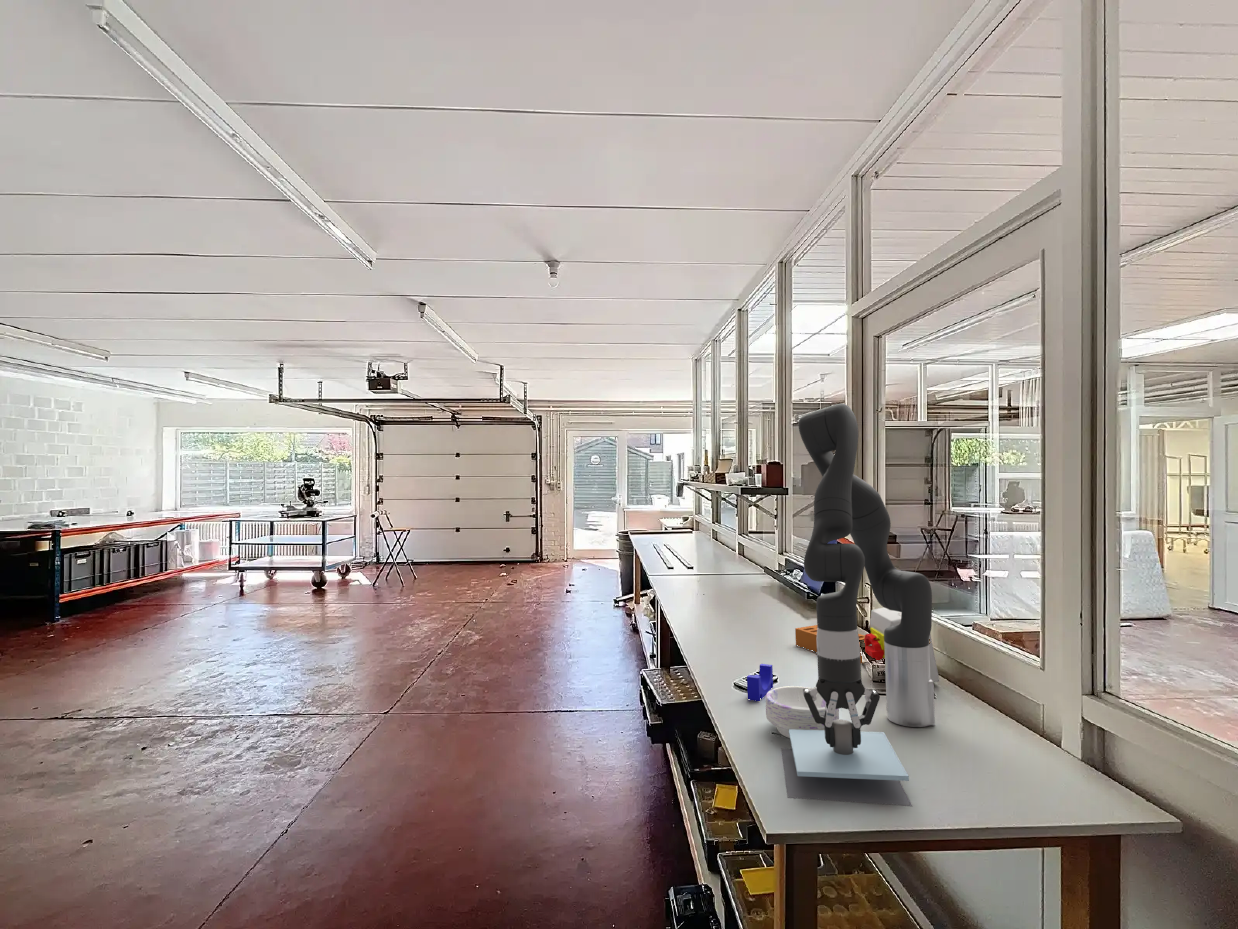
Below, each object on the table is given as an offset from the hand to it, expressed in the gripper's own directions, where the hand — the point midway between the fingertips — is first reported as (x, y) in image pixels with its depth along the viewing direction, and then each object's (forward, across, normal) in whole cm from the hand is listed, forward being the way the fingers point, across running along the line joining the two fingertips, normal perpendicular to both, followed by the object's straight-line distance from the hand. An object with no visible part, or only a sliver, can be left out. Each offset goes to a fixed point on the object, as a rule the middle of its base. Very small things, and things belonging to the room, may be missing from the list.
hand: (842, 745), depth 116 cm
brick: (+7, -12, -85) cm, 86 cm away
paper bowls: (+6, +5, -20) cm, 21 cm away
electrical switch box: (+7, -23, -60) cm, 64 cm away
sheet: (+2, 0, 0) cm, 2 cm away
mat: (+6, +1, 0) cm, 6 cm away
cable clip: (+6, +14, -44) cm, 47 cm away
